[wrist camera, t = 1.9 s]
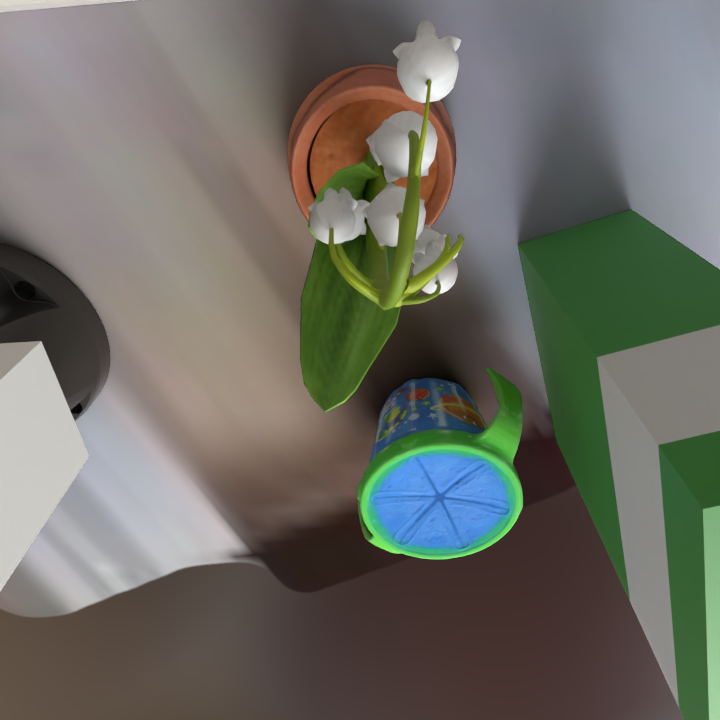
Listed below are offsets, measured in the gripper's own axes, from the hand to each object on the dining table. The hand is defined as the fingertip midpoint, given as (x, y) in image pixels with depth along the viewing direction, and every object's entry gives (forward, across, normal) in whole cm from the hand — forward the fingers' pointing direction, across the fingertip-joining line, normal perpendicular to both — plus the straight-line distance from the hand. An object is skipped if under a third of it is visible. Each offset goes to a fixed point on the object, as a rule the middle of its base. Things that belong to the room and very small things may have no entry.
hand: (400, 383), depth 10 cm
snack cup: (+28, +3, -21) cm, 35 cm away
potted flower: (+28, 0, 0) cm, 28 cm away
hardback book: (+28, +15, -15) cm, 35 cm away
